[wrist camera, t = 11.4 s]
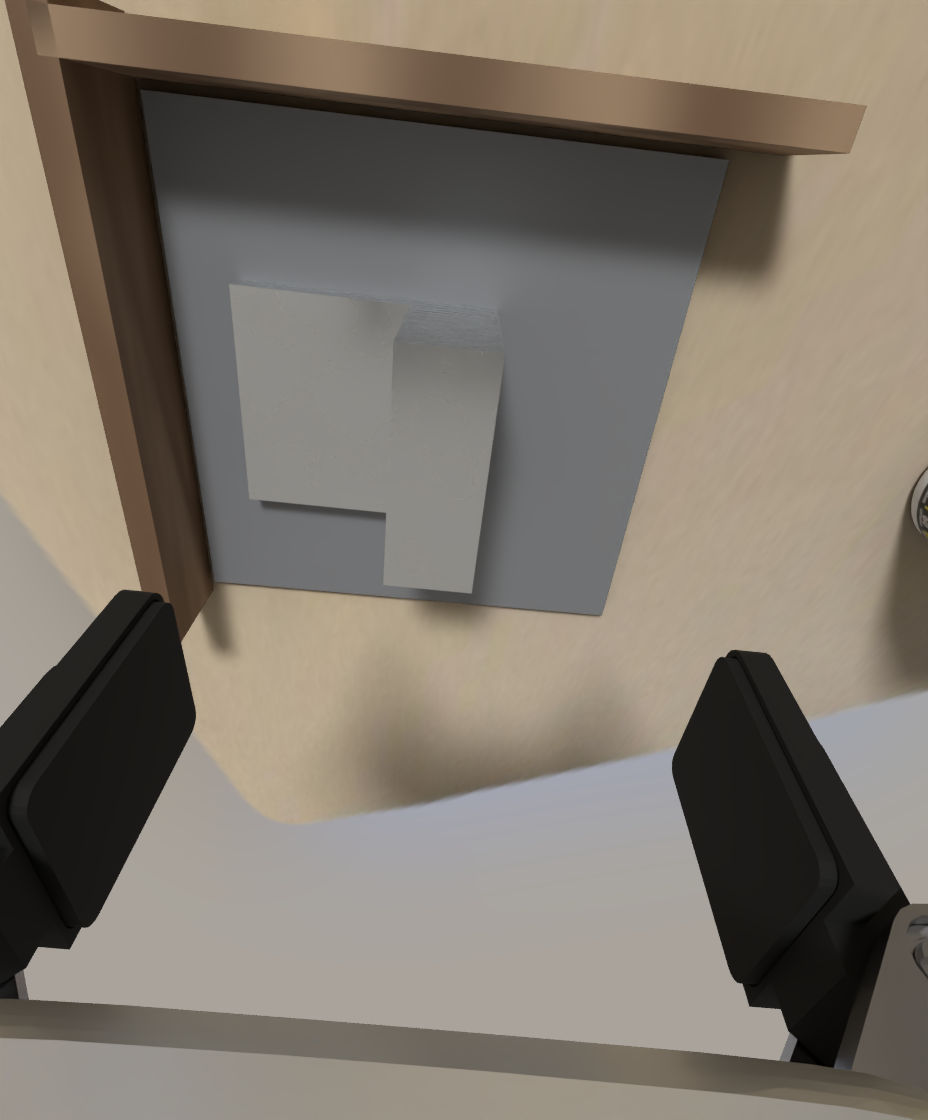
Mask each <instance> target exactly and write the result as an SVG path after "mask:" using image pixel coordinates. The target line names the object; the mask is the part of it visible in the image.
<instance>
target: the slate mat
mask: <svg viewBox="0 0 928 1120" xmlns="http://www.w3.org/2000/svg"><path fill="white" fill-rule="evenodd" d="M141 97H142V104H143V110H144V117H145V123H146V130H147V137H148V143H149V150H150V157H151V163H152V170H153V177H154V183H155V190H156V196H157V203H158V210H159V216H160V223H161V230H162V236H163V243H164V250H165V256H166V263H167V269H168V276H169V283H170V289H171V296H172V303H173V309H174V316H175V323H176V329H177V336H178V342H179V349H180V356H181V362H182V369H183V376H184V382H185V389H186V396H187V402H188V409H189V415H190V422H191V429H192V435H193V442H194V449H195V455H196V462H197V469H198V475H199V482H200V488H201V495H202V502H203V508H204V515H205V522H206V528H207V535H208V542H209V548H210V555H211V561H212V568H213V575H214V581H215V582H226V583H238V584H249V585H260V586H272V587H283V588H295V589H306V590H317V591H329V592H340V593H352V594H363V595H374V596H386V597H397V598H409V599H420V600H431V601H443V602H454V603H466V604H477V605H488V606H500V607H511V608H523V609H534V610H545V611H557V612H568V613H580V614H591V615H602V613H603V610H604V606H605V602H606V599H607V595H608V592H609V588H610V585H611V581H612V577H613V574H614V570H615V567H616V563H617V560H618V556H619V552H620V549H621V545H622V542H623V538H624V535H625V531H626V527H627V524H628V520H629V517H630V513H631V510H632V506H633V502H634V499H635V495H636V492H637V488H638V485H639V481H640V478H641V474H642V470H643V467H644V463H645V460H646V456H647V453H648V449H649V445H650V442H651V438H652V435H653V431H654V428H655V424H656V420H657V417H658V413H659V410H660V406H661V403H662V399H663V395H664V392H665V388H666V385H667V381H668V378H669V374H670V370H671V367H672V363H673V360H674V356H675V353H676V349H677V345H678V342H679V338H680V335H681V331H682V328H683V324H684V320H685V317H686V313H687V310H688V306H689V303H690V299H691V295H692V292H693V288H694V285H695V281H696V278H697V274H698V270H699V267H700V263H701V260H702V256H703V253H704V249H705V245H706V242H707V238H708V235H709V231H710V228H711V224H712V220H713V217H714V213H715V210H716V206H717V203H718V199H719V195H720V192H721V188H722V185H723V181H724V178H725V174H726V170H727V167H728V163H729V160H725V159H716V158H708V157H700V156H691V155H683V154H674V153H666V152H658V151H649V150H641V149H633V148H624V147H616V146H608V145H599V144H591V143H583V142H574V141H566V140H558V139H549V138H541V137H533V136H524V135H516V134H508V133H499V132H491V131H482V130H474V129H466V128H457V127H449V126H441V125H432V124H424V123H416V122H407V121H399V120H391V119H382V118H374V117H366V116H357V115H349V114H341V113H332V112H324V111H316V110H307V109H299V108H291V107H282V106H274V105H265V104H257V103H249V102H240V101H232V100H224V99H215V98H207V97H199V96H190V95H182V94H174V93H165V92H157V91H149V90H141ZM239 279H240V280H249V281H257V282H266V283H274V284H283V285H291V286H300V287H309V288H317V289H326V290H334V291H343V292H352V293H360V294H369V295H377V296H386V297H395V298H403V299H412V300H420V301H429V302H437V303H446V304H455V305H463V306H472V307H480V308H489V309H498V313H499V319H500V325H501V331H502V337H503V344H504V350H505V359H504V366H503V373H502V380H501V387H500V394H499V401H498V409H497V416H496V423H495V430H494V437H493V444H492V451H491V459H490V466H489V473H488V480H487V487H486V494H485V501H484V508H483V516H482V523H481V530H480V537H479V544H478V551H477V558H476V566H475V573H474V580H473V587H472V593H461V592H451V591H440V590H430V589H419V588H409V587H398V586H388V585H383V578H384V554H385V531H386V513H384V512H374V511H364V510H354V509H344V508H334V507H324V506H314V505H304V504H294V503H284V502H274V501H264V500H254V499H249V490H248V479H247V469H246V458H245V447H244V437H243V426H242V416H241V405H240V395H239V384H238V373H237V363H236V352H235V342H234V331H233V321H232V310H231V299H230V289H229V284H230V283H232V282H234V281H237V280H239Z"/></svg>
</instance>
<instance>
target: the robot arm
mask: <svg viewBox="0 0 928 1120" xmlns="http://www.w3.org/2000/svg"><path fill="white" fill-rule="evenodd" d="M195 719H196V710H195V705H194V701H193V696H192V691H191V687H190V682H189V677H188V673H187V668H186V664H185V659H184V654H183V650H182V645H181V640H180V636H179V631H178V626H177V622H176V617H175V613H174V609H173V606H172V605H171V603H166V602H164V600H163V597H162V596H161V595H160V594H158V593H152V592H142V591H132V590H122V591H120V592H118V593H117V594H116V595H115V596H114V598H113V599H112V600H111V601H110V602H109V604H108V605H107V606H106V607H105V608H104V610H103V611H102V612H101V613H100V614H99V615H98V617H97V618H96V619H95V620H94V621H93V623H92V624H91V625H90V626H89V627H88V629H87V630H86V631H85V632H84V633H83V635H82V636H81V637H80V638H79V639H78V641H77V642H76V643H75V644H74V645H73V646H72V648H71V649H70V650H69V651H68V653H67V654H66V655H65V656H64V657H63V658H62V660H61V661H60V662H59V663H58V664H57V665H56V666H54V667H53V668H52V669H51V670H49V671H48V672H47V673H46V674H45V675H44V676H43V678H42V679H41V680H40V681H39V682H38V684H37V685H36V686H35V687H34V688H33V689H32V691H31V692H30V693H29V694H28V695H27V697H26V698H25V699H24V700H23V701H22V702H21V704H20V705H19V706H18V707H17V708H16V710H15V711H14V712H13V713H12V714H11V715H10V717H9V718H8V719H7V720H6V721H5V722H4V724H3V725H2V726H1V727H0V1120H928V904H911V905H910V903H909V901H908V899H907V898H906V896H905V894H904V892H903V890H902V888H901V887H900V885H899V883H898V881H897V880H896V878H895V876H894V874H893V872H892V870H891V869H890V867H889V865H888V864H887V861H886V860H885V858H884V856H883V854H882V852H881V851H880V849H879V847H878V845H877V843H876V842H875V840H874V838H873V836H872V834H871V833H870V831H869V829H868V827H867V825H866V824H865V822H864V820H863V818H862V817H861V815H860V813H859V811H858V809H857V808H856V806H855V804H854V802H853V801H852V799H851V797H850V795H849V793H848V791H847V790H846V788H845V786H844V784H843V782H842V781H841V779H840V777H839V775H838V774H837V772H836V770H835V768H834V766H833V764H832V763H831V761H830V759H829V757H828V755H827V754H826V752H825V750H824V748H823V747H822V745H821V744H820V743H819V741H818V740H817V738H816V736H815V735H814V733H813V731H812V729H811V727H810V725H809V724H808V722H807V720H806V718H805V716H804V715H803V713H802V711H801V709H800V707H799V706H798V704H797V702H796V700H795V698H794V697H793V695H792V693H791V691H790V689H789V687H788V686H787V684H786V682H785V680H784V678H783V677H782V675H781V673H780V671H779V669H778V668H777V666H776V664H775V662H774V660H773V659H772V658H771V656H770V655H768V654H767V653H760V652H750V651H740V650H731V651H730V652H729V653H728V654H727V656H726V657H720V658H719V659H717V661H716V663H715V665H714V667H713V669H712V671H711V674H710V676H709V678H708V680H707V683H706V685H705V687H704V689H703V691H702V694H701V696H700V698H699V700H698V703H697V705H696V707H695V709H694V712H693V714H692V716H691V718H690V720H689V723H688V725H687V727H686V729H685V732H684V734H683V736H682V738H681V740H680V743H679V745H678V747H677V749H676V752H675V754H674V757H673V761H672V773H673V778H674V782H675V785H676V788H677V792H678V796H679V799H680V802H681V806H682V809H683V813H684V816H685V819H686V823H687V826H688V829H689V833H690V837H691V840H692V844H693V847H694V850H695V854H696V857H697V861H698V864H699V867H700V871H701V874H702V878H703V881H704V885H705V888H706V891H707V895H708V898H709V902H710V905H711V909H712V912H713V916H714V919H715V923H716V926H717V930H718V933H719V936H720V940H721V943H722V946H723V950H724V954H725V957H726V960H727V964H728V967H729V970H730V973H731V975H732V977H733V978H734V980H735V981H736V982H737V983H743V986H744V990H745V993H746V996H747V999H748V1003H749V1006H750V1007H762V1008H775V1009H781V1011H782V1014H783V1017H784V1020H785V1023H786V1026H787V1029H788V1031H789V1032H790V1034H789V1036H788V1039H787V1041H786V1044H785V1047H784V1050H783V1053H782V1055H781V1058H780V1060H779V1061H776V1060H766V1059H757V1058H747V1057H738V1056H729V1055H720V1054H710V1053H701V1052H690V1051H678V1050H667V1049H654V1048H643V1047H632V1046H621V1045H609V1044H598V1043H586V1042H574V1041H562V1040H551V1039H539V1038H528V1037H517V1036H505V1035H493V1034H481V1033H468V1032H455V1031H444V1030H432V1029H420V1028H408V1027H395V1026H383V1025H371V1024H359V1023H346V1022H333V1021H322V1020H309V1019H295V1018H283V1017H270V1016H257V1015H243V1014H230V1013H218V1012H205V1011H204V1012H203V1011H192V1010H179V1009H165V1008H152V1007H140V1006H127V1005H109V1004H92V1003H74V1002H57V1001H40V1000H29V998H28V993H27V988H26V982H25V977H24V971H23V970H24V969H25V968H26V967H27V965H28V963H29V962H30V960H31V958H32V956H33V955H34V953H35V951H36V949H37V948H38V947H47V948H59V949H70V948H71V946H72V944H73V942H74V940H75V938H76V937H77V934H78V933H79V931H80V929H81V927H83V928H86V927H89V926H90V925H91V924H92V923H93V922H94V921H95V920H96V918H97V916H98V915H99V913H100V911H101V909H102V907H103V905H104V903H105V901H106V899H107V897H108V895H109V893H110V891H111V889H112V887H113V886H114V884H115V882H116V880H117V877H118V876H119V874H120V872H121V870H122V868H123V866H124V864H125V862H126V860H127V858H128V856H129V854H130V852H131V850H132V848H133V846H134V844H135V843H136V841H137V839H138V837H139V834H140V833H141V831H142V829H143V827H144V825H145V823H146V821H147V819H148V817H149V815H150V813H151V811H152V809H153V807H154V805H155V803H156V801H157V799H158V798H159V796H160V794H161V791H162V790H163V788H164V786H165V784H166V782H167V780H168V778H169V776H170V774H171V772H172V770H173V768H174V766H175V764H176V762H177V760H178V758H179V757H180V755H181V752H182V751H183V749H184V747H185V745H186V743H187V741H188V739H189V737H190V735H191V733H192V731H193V728H194V724H195Z"/></svg>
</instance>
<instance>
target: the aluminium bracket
mask: <svg viewBox="0 0 928 1120" xmlns="http://www.w3.org/2000/svg"><path fill="white" fill-rule="evenodd" d="M229 289H230V299H231V310H232V321H233V331H234V342H235V352H236V363H237V373H238V384H239V395H240V405H241V416H242V426H243V437H244V447H245V458H246V469H247V479H248V490H249V499H254V500H264V501H274V502H284V503H294V504H304V505H314V506H324V507H334V508H344V509H354V510H364V511H374V512H384V513H386V531H385V554H384V578H383V585H388V586H398V587H409V588H419V589H430V590H440V591H451V592H461V593H472V587H473V580H474V573H475V566H476V558H477V551H478V544H479V537H480V530H481V523H482V516H483V508H484V501H485V494H486V487H487V480H488V473H489V466H490V459H491V451H492V444H493V437H494V430H495V423H496V416H497V409H498V401H499V394H500V387H501V380H502V373H503V366H504V359H505V350H504V344H503V337H502V331H501V325H500V319H499V313H498V309H489V308H480V307H472V306H463V305H455V304H446V303H437V302H429V301H420V300H412V299H403V298H395V297H386V296H377V295H369V294H360V293H352V292H343V291H334V290H326V289H317V288H309V287H300V286H291V285H283V284H274V283H266V282H257V281H249V280H240V279H239V280H237V281H234V282H232V283H230V284H229Z"/></svg>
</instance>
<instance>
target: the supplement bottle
mask: <svg viewBox="0 0 928 1120" xmlns="http://www.w3.org/2000/svg"><path fill="white" fill-rule="evenodd" d="M911 514H912V519H913V522H914V524H915V526H916V528H917V529H918V531H919V532H920V533H921V534H922V535H923V536H924V537H925V538H926V539H927V540H928V469H927V470H926V471H925V473H924V474H923V475H922V477H921V478H920V480H919V482H918V484H917V486H916V488H915V490H914V493H913V497H912V503H911Z"/></svg>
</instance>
